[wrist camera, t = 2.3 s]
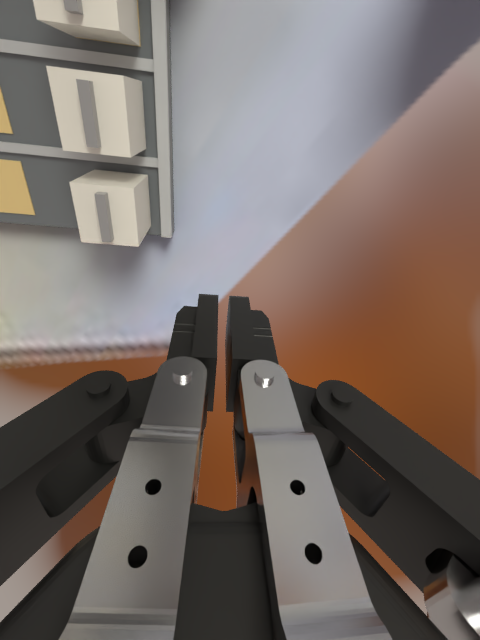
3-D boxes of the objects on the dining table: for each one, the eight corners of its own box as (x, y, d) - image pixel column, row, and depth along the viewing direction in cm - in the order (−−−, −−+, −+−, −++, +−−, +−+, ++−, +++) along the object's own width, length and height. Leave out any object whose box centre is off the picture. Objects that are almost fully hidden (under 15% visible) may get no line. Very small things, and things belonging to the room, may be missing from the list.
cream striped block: (94, 169, 22) (65, 184, 18) (148, 174, 23) (131, 190, 18) (102, 221, 24) (77, 245, 20) (151, 225, 25) (136, 250, 21)
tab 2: (79, 73, 19) (40, 64, 15) (141, 81, 20) (120, 74, 15) (90, 142, 21) (58, 151, 17) (146, 148, 22) (128, 159, 18)
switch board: (-164, -110, 16) (-206, -133, 14) (168, -53, 18) (163, -68, 16) (-35, 212, 25) (-52, 219, 24) (174, 230, 27) (171, 237, 25)
